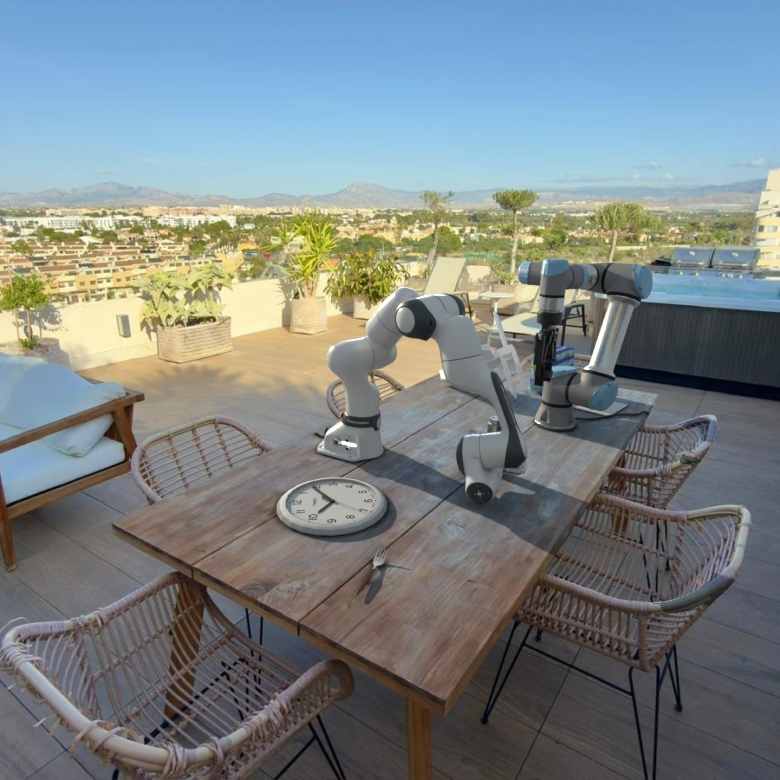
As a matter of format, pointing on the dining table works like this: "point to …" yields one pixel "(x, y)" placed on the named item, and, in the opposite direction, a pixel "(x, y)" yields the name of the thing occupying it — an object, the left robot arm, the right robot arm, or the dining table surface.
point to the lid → (547, 373)
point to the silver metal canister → (494, 425)
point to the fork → (376, 562)
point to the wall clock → (331, 506)
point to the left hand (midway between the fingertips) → (494, 450)
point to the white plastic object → (500, 360)
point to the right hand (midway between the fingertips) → (542, 383)
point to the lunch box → (554, 364)
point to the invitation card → (611, 410)
